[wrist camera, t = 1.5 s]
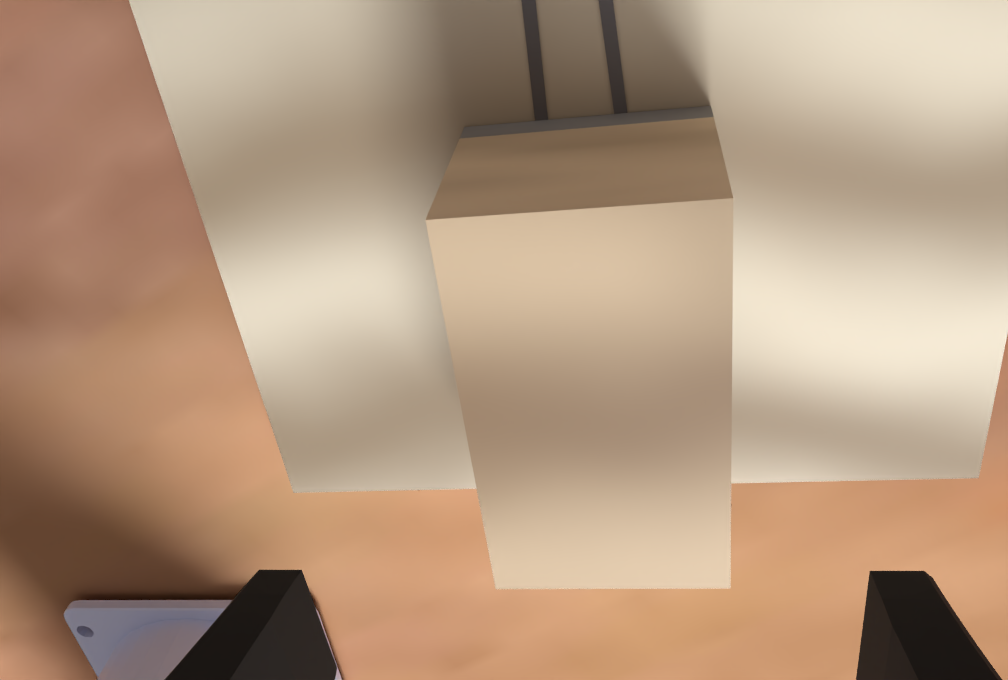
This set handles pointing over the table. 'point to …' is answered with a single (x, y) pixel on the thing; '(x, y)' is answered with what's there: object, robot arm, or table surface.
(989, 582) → the table surface
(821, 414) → the beige square mat
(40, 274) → the table surface
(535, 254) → the block
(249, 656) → the robot arm
